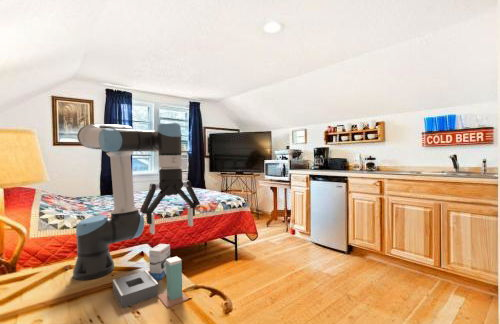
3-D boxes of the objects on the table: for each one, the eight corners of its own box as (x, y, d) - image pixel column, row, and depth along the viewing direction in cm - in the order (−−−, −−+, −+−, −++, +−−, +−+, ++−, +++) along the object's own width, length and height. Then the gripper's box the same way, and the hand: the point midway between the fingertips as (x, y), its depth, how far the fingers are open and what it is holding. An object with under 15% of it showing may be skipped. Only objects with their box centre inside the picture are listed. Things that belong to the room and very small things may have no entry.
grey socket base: (112, 291, 96) (112, 279, 95) (146, 280, 103) (146, 269, 103) (121, 308, 85) (121, 295, 84) (158, 295, 92) (158, 283, 92)
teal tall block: (167, 295, 91) (165, 259, 90) (178, 291, 93) (176, 256, 93) (171, 300, 88) (170, 262, 87) (182, 296, 90) (181, 259, 90)
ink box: (160, 280, 103) (159, 251, 102) (149, 279, 104) (148, 250, 103) (171, 270, 111) (170, 243, 111) (160, 270, 112) (159, 243, 112)
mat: (157, 296, 91) (157, 295, 91) (181, 287, 97) (181, 286, 97) (166, 308, 84) (166, 306, 84) (192, 298, 90) (192, 296, 90)
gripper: (135, 170, 78) (137, 239, 79) (208, 166, 94) (209, 224, 95) (128, 169, 84) (131, 234, 85) (198, 166, 100) (199, 220, 101)
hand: (172, 229), depth 90 cm, fingers open, 13 cm apart
